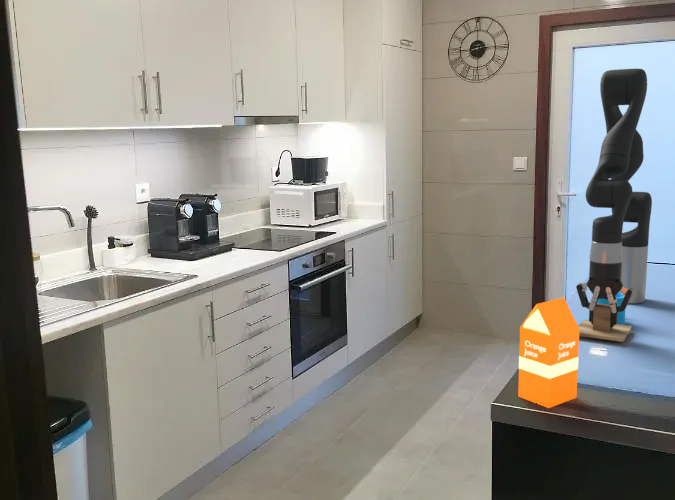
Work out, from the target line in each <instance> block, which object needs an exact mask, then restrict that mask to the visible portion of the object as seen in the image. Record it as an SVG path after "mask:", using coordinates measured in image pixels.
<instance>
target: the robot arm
mask: <svg viewBox="0 0 675 500" xmlns="http://www.w3.org/2000/svg"><path fill="white" fill-rule="evenodd" d="M599 85H600V86H599V90H600V98H601V99H600V100H601V105H602V110H603V115H604V121H605V129H606V130H605V131H606V135H605V136H604V138H603V141H602V143H601V146H600V147H601V148H600V153H599V154H600V155H599V160H598V164H597V167H596V169H595V170H594V173H593V174H592V177H591V179H590V181H589V182H588V185H587V187H586V190H585V200H586V202H587V204H588V205H589V206H590V207H593V208H602V209H611V213H612V214H609V215H607V216H601V217H600V216H599V217H596V218H594V219H593V221H592V228H591V229H592V230H591V244H590V251H589V268H588V269H589V271H588V272H589V273H588V279H587V281H586V282H583V283H582V282H579V283H578V284H577V285H576V291H577V292H576V293H577V294H578V298H579V300H580V305H581V307H582V308H585V309H588V312H589V313H588V320H589V322H591V324H592V325H593V313H594V306H595V305H596V304H597V302H598V299H602V298H604V299H606V300H608V301H609V304H610V307H611V311H612V313H611V322H610V327H614V325H616V324H617V320H618V312H623V311H624V310H625V311H626V309H627V306H628V304H642V303H644V302H646V291H647V289H646V288H647V286H646V285H647V275H648V274H647V271H648V255H649V238H650V223H651V214H652V209H653V208H652V206H653V201H652V200H653V199H652V195H651V194H650V193H649V191H648V192H647V191H633V186H632V185H631V183H630V182H629V181H630V180H631V179H632V177H633V176H634V175H635V174H636V173H637V172H638V170H639V169H640V167H641V166H642V164H643V162H644V143H643V142H644V141H643V138H642V135H641V134H640V132H639V131H638V130H637V127H638V124H639V121H640V117H641V115H642V111H643V107H644V104H645V101H646V100H645V99H646V96H647V91H648V75H647V73H646V70H644V69H642V68H626V69H625V68H622V69H609V70H606V71H605V72H603V73H602V75H601V77H600V83H599ZM620 106H628V107H627V108H626V111H625V112H624V114H623V113H622V111H621V109H620ZM624 223H635V224H636V223H637V226H636V227H634V228H633V229H631V230H629V231H625V232H623V228H624V227H623V226H624ZM587 290H589V292H590V293H591V294H592V297H591V299H590V301H589V300H588V296H587V293H586V291H587ZM618 293H622V294H623V296H625V297H624V299H623V301H622V303H621V306H618V305H617V298H616V295H617V294H618Z"/></svg>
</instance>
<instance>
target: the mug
mask: <svg viewBox="0 0 675 500" xmlns="http://www.w3.org/2000/svg"><path fill="white" fill-rule="evenodd" d="M624 297H625V296H623V294H622V293H618V294H617V295H616V298H617V305H618V306H621V303H622V301H623V299H624ZM597 303H599V304H608V305H610V304H609V301H608V300H606V299H604V298H602V299H598V302H597ZM625 321H626V309H625V310H624V311H623V312H618V320H617V324H621V325H626V322H625Z"/></svg>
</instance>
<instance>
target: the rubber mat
mask: <svg viewBox="0 0 675 500" xmlns="http://www.w3.org/2000/svg"><path fill="white" fill-rule="evenodd" d="M636 334H637V332H635V331H630V332H629V334H628V335H627V337H626V338H625V340H624V341H623V342H620V341H613V340H606V339H599V338H592V337H584V336H579V342H585V343H592V344H599V345H606V346H612V347H620V348H627V347H628V345H629V344H630V342H631V341H632V340H633V338H634V337H635V335H636Z"/></svg>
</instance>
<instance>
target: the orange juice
mask: <svg viewBox="0 0 675 500" xmlns="http://www.w3.org/2000/svg"><path fill="white" fill-rule="evenodd" d="M578 326H579V325H578V323H577V321H576V319H575V317H574V315H573V313H572V311H571V309H570V307H569V305H568V303H567V301H566V299H565V297H563V296H562V297H560V298H557V299H551V300H549V301H544V302H543V301H542V302H539V303H536V304H535V306H534V307H533V309H532V310H531V311H530V313H529V314H528V316H527V317H526V318H525V320H524V321H523V323H522V324H521V325H520V327H519V355H518V391H517V392H518V395H517V396H518V397H519V398H521V399H524V400H527V401H528V402H531V403H534V404H536V403H537V404H536V405H539V406H542V407H545V408H547V409H550V408H553V407H555V406H558V405H560V404H563V403H565V402H568V401H571V400H574V399H576V398H577V393H578V392H577V391H578V370H579V347H580V345H579V344H580V341H579V327H578Z"/></svg>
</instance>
